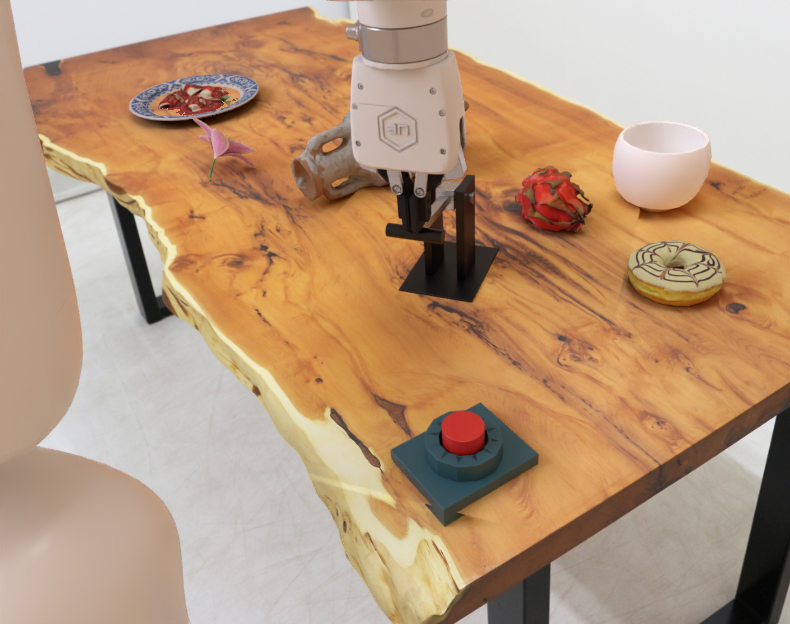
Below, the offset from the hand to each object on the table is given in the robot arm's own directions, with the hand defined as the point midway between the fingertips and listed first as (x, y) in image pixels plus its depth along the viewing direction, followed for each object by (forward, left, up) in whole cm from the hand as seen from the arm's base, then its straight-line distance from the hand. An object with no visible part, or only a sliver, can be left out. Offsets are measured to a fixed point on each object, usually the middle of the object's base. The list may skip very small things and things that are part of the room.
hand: (415, 225), depth 72 cm
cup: (+36, -22, -13) cm, 44 cm away
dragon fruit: (+26, -10, -13) cm, 30 cm away
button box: (-18, -11, -13) cm, 25 cm away
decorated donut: (+16, -26, -13) cm, 33 cm away
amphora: (+35, +17, -13) cm, 41 cm away
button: (-18, -11, -9) cm, 23 cm away
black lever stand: (+11, 0, -13) cm, 17 cm away
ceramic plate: (+57, +68, -13) cm, 90 cm away
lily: (+31, +44, -13) cm, 56 cm away
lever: (+5, 0, -3) cm, 6 cm away
